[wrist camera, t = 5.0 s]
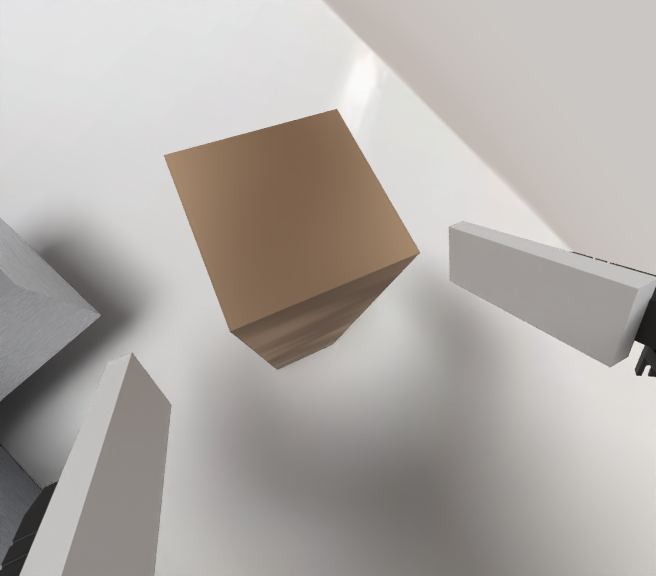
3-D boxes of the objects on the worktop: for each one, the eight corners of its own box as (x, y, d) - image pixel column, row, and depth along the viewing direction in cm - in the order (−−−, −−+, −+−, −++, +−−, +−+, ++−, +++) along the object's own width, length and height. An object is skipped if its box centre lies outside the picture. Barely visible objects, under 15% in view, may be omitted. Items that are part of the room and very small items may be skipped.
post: (277, 369, 19) (229, 331, 5) (255, 314, 20) (163, 155, 6) (332, 344, 20) (420, 252, 6) (308, 292, 21) (336, 109, 7)
